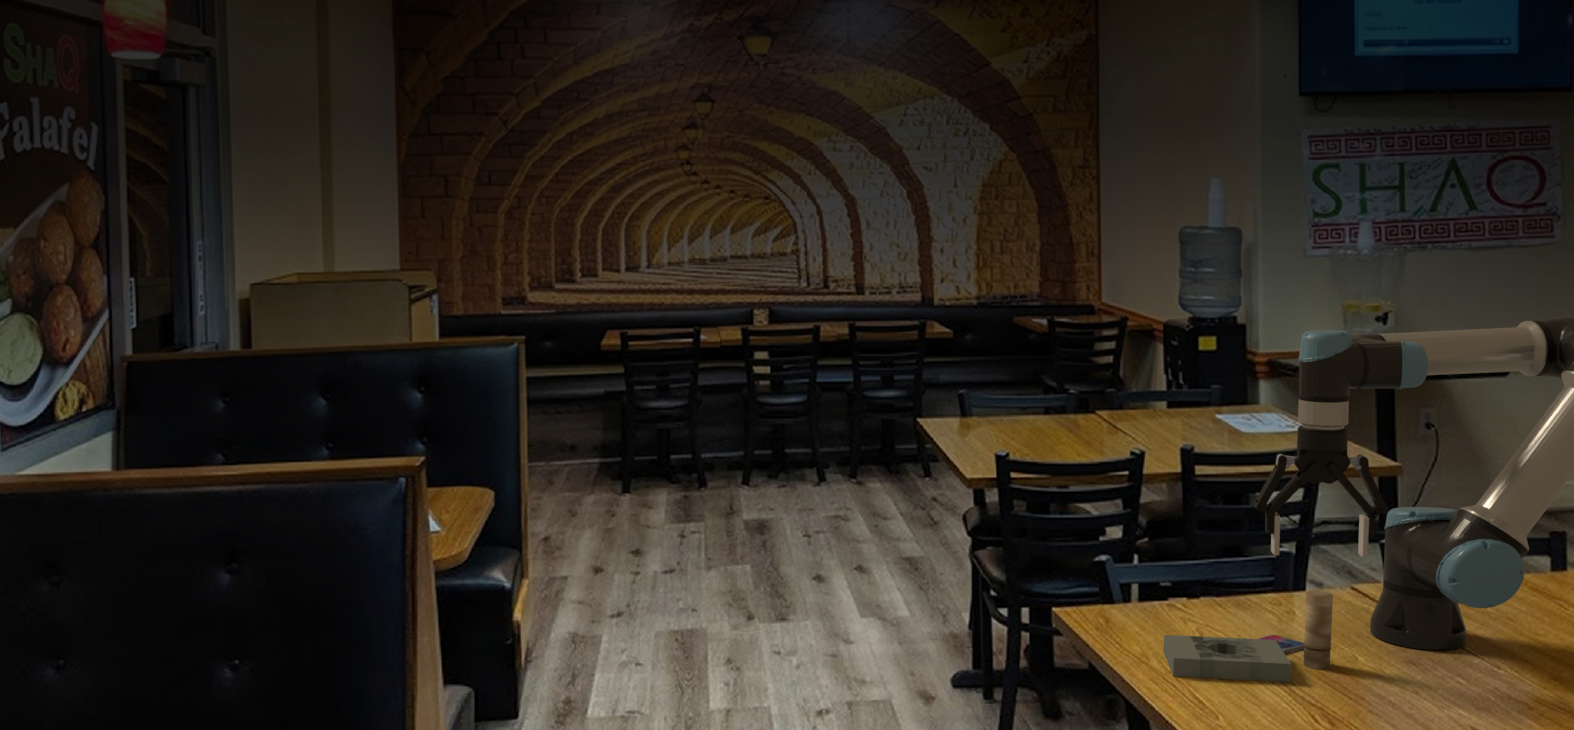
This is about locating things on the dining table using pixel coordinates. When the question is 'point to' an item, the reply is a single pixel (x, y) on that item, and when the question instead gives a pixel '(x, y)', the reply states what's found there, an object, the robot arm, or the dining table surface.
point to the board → (1226, 658)
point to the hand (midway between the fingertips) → (1318, 554)
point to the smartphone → (1286, 643)
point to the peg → (1318, 629)
